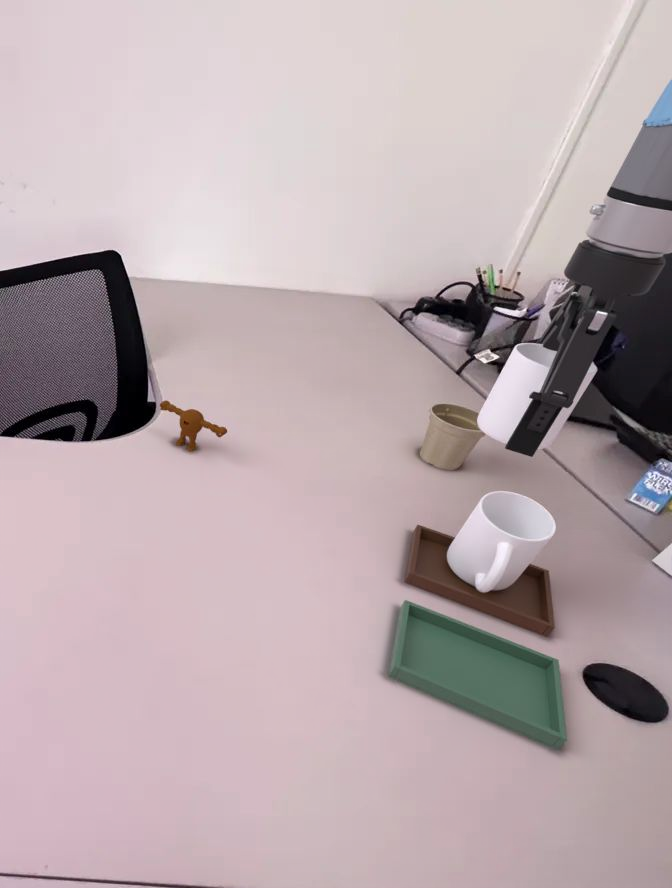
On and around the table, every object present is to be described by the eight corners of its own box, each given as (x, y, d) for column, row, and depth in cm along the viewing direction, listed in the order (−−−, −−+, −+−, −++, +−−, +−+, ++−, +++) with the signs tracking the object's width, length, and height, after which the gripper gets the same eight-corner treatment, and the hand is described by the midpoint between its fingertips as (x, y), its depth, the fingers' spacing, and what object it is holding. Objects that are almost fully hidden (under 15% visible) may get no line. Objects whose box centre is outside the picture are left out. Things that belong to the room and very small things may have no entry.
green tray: (549, 671, 77) (558, 659, 76) (556, 752, 68) (567, 740, 67) (398, 611, 83) (405, 599, 82) (387, 677, 74) (394, 666, 73)
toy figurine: (148, 436, 112) (156, 400, 108) (161, 428, 114) (169, 393, 111) (210, 467, 106) (221, 430, 102) (222, 459, 108) (233, 422, 104)
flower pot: (396, 448, 116) (417, 404, 111) (438, 443, 119) (460, 400, 114) (437, 479, 109) (462, 433, 104) (481, 473, 112) (507, 428, 107)
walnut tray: (541, 581, 90) (548, 570, 89) (546, 639, 81) (555, 627, 80) (411, 535, 96) (417, 524, 95) (403, 584, 87) (409, 572, 86)
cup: (547, 430, 85) (592, 355, 79) (555, 473, 76) (607, 393, 70) (474, 409, 88) (513, 336, 82) (474, 449, 79) (517, 370, 73)
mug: (506, 624, 83) (550, 573, 76) (433, 594, 86) (470, 542, 79) (517, 559, 90) (559, 507, 83) (450, 534, 93) (484, 481, 86)
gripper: (574, 218, 79) (486, 384, 91) (591, 264, 61) (480, 462, 73) (651, 233, 76) (550, 401, 88) (693, 285, 58) (559, 487, 71)
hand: (518, 429), depth 81 cm, fingers closed on cup, 12 cm apart
